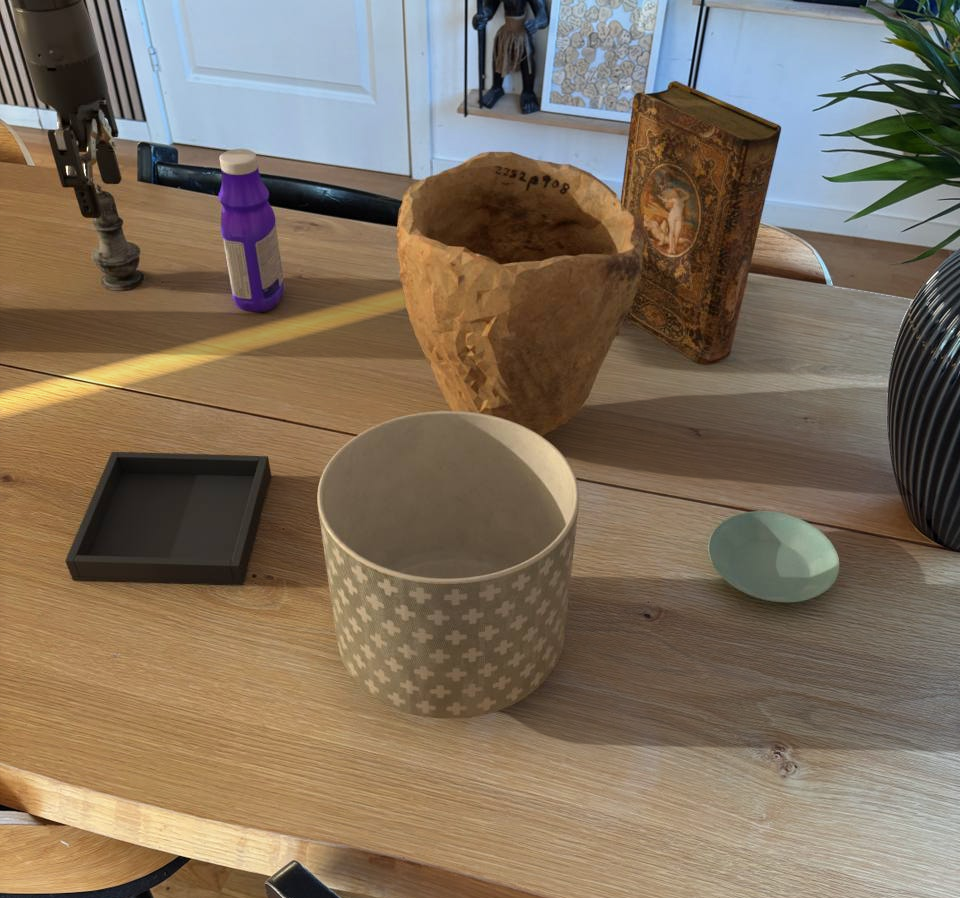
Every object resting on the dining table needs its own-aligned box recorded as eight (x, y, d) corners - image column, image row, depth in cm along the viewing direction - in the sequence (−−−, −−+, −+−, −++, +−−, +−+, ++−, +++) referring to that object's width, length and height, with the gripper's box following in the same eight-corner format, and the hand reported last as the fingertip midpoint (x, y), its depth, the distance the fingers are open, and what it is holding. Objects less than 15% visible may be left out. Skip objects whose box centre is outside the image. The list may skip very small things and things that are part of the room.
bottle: (249, 283, 127) (224, 139, 114) (292, 288, 127) (272, 144, 114) (227, 313, 123) (200, 167, 110) (272, 318, 122) (249, 172, 109)
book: (738, 352, 118) (790, 129, 100) (705, 368, 116) (752, 143, 97) (639, 293, 127) (670, 78, 108) (607, 307, 125) (633, 90, 106)
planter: (584, 601, 91) (606, 437, 78) (526, 767, 79) (539, 609, 66) (387, 554, 95) (375, 391, 81) (303, 707, 83) (272, 545, 69)
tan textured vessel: (633, 498, 101) (672, 261, 82) (408, 506, 100) (395, 268, 81) (600, 368, 116) (626, 143, 97) (404, 374, 115) (392, 147, 96)
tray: (72, 580, 92) (64, 560, 90) (117, 471, 103) (111, 451, 101) (243, 585, 92) (239, 565, 90) (271, 475, 103) (268, 455, 101)
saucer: (836, 626, 90) (843, 608, 88) (702, 608, 91) (706, 590, 89) (829, 537, 98) (836, 519, 96) (705, 521, 99) (710, 503, 97)
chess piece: (130, 295, 125) (104, 199, 116) (89, 286, 126) (60, 190, 117) (156, 273, 129) (133, 178, 120) (116, 264, 130) (90, 170, 121)
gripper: (46, 24, 112) (88, 172, 124) (2, 73, 103) (52, 228, 115) (113, 25, 112) (149, 173, 124) (75, 74, 103) (118, 229, 115)
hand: (103, 199), depth 120 cm, fingers open, 8 cm apart
